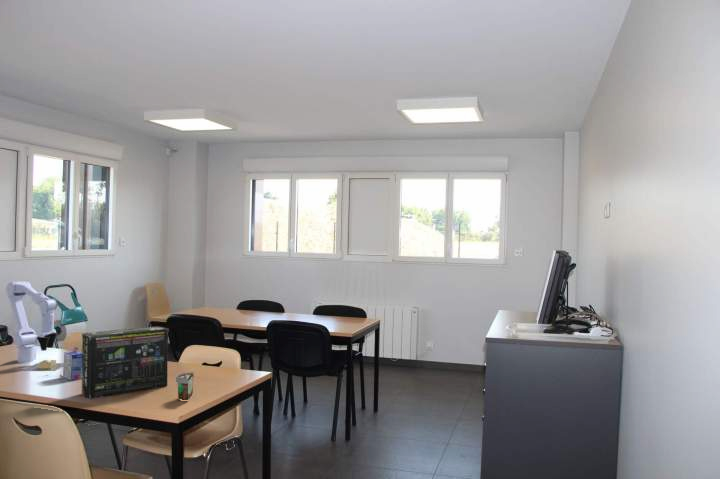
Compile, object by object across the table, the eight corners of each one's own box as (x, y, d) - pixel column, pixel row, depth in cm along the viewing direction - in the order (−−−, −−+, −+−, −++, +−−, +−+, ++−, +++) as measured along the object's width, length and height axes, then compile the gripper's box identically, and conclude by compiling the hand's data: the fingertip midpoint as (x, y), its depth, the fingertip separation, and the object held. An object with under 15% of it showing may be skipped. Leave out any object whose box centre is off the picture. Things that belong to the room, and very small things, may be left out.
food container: (179, 394, 251) (179, 372, 251) (193, 394, 251) (193, 372, 252) (172, 402, 239) (172, 378, 239) (187, 402, 239) (187, 378, 239)
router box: (158, 381, 273) (159, 325, 273) (168, 386, 265) (170, 328, 265) (78, 394, 249) (80, 332, 249) (87, 399, 241) (88, 335, 241)
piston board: (37, 365, 301) (37, 355, 301) (69, 365, 303) (69, 355, 303) (20, 373, 283) (21, 362, 283) (54, 373, 285) (55, 362, 285)
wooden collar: (43, 367, 293) (44, 360, 293) (55, 367, 293) (56, 360, 293) (38, 369, 287) (39, 362, 287) (51, 369, 288) (51, 362, 288)
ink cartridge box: (82, 379, 275) (83, 348, 275) (70, 380, 271) (71, 350, 271) (74, 375, 282) (75, 345, 282) (62, 377, 278) (63, 347, 278)
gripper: (49, 325, 291) (49, 351, 291) (61, 320, 306) (60, 346, 306) (35, 324, 291) (34, 351, 291) (47, 320, 305) (47, 346, 305)
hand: (47, 349), depth 298 cm, fingers open, 7 cm apart
